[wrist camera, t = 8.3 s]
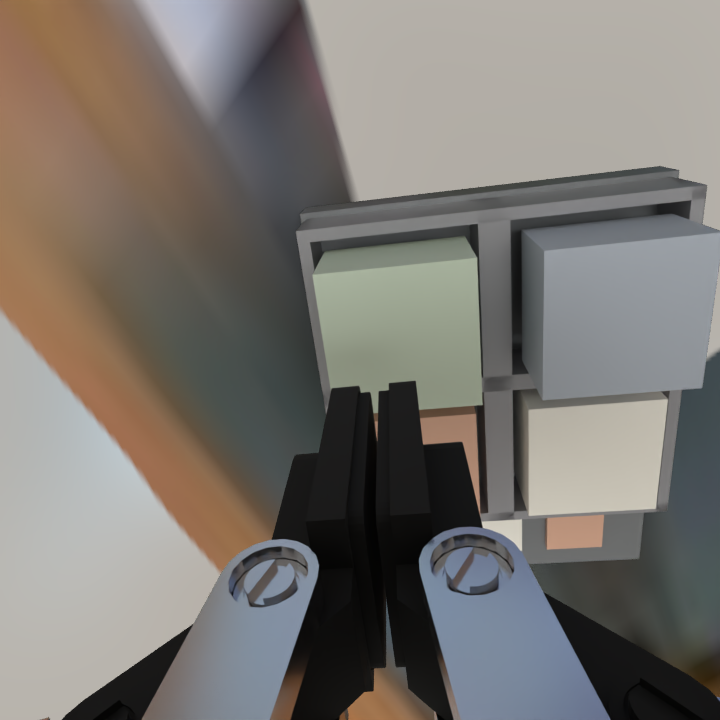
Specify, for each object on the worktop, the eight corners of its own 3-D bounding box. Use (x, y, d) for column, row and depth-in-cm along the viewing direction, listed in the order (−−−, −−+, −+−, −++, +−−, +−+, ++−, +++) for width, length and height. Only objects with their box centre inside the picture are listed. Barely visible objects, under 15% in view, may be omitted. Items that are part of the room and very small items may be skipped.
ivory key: (633, 362, 21) (667, 399, 19) (624, 462, 23) (655, 508, 21) (512, 372, 22) (528, 409, 19) (513, 469, 24) (528, 516, 21)
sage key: (464, 235, 18) (476, 257, 15) (470, 364, 20) (482, 404, 17) (324, 251, 18) (312, 274, 16) (343, 375, 20) (334, 416, 18)
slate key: (671, 213, 17) (723, 232, 15) (658, 348, 19) (702, 388, 16) (521, 229, 18) (544, 251, 15) (522, 360, 20) (542, 400, 17)
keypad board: (659, 166, 20) (715, 177, 17) (626, 536, 27) (661, 599, 23) (305, 207, 21) (288, 225, 18) (359, 549, 28) (354, 611, 25)
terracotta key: (466, 376, 22) (476, 413, 19) (470, 472, 24) (480, 518, 21) (351, 386, 23) (345, 424, 20) (365, 479, 24) (361, 525, 22)
